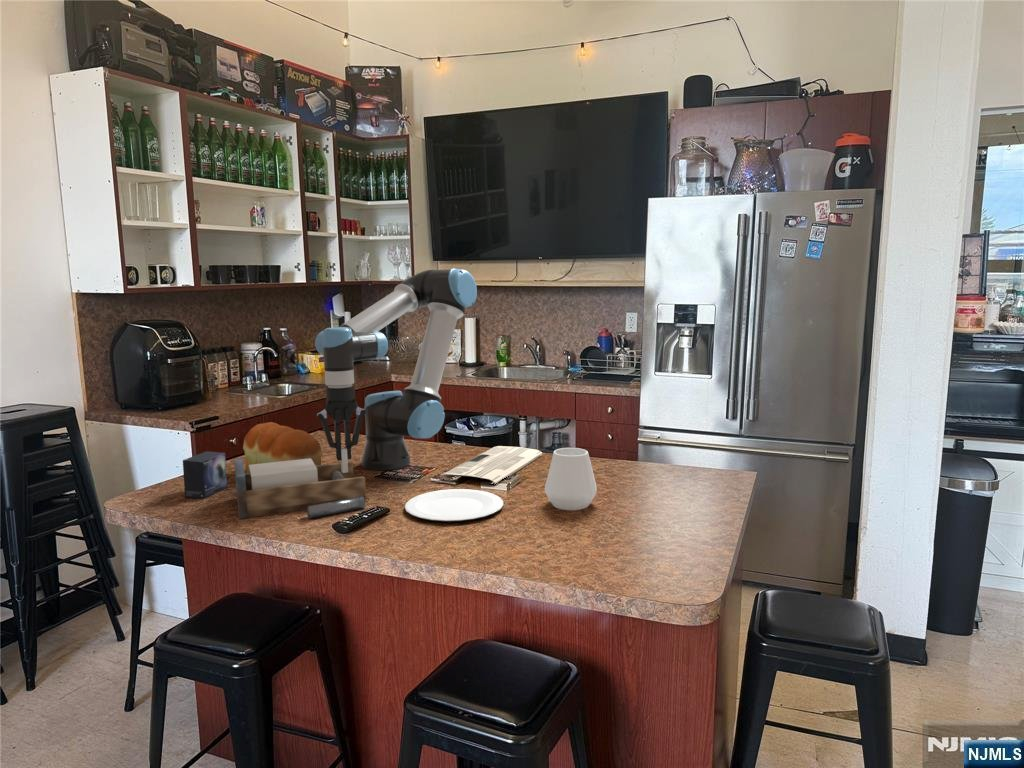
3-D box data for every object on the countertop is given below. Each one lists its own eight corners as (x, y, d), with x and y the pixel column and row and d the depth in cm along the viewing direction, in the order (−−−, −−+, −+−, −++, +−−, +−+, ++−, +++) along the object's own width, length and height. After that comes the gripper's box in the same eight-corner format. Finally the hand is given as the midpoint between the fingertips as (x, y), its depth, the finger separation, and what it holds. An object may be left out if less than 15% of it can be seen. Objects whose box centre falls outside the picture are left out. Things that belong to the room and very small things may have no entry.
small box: (205, 499, 185) (202, 461, 184) (183, 498, 186) (180, 460, 185) (228, 487, 195) (226, 451, 194) (208, 486, 197) (205, 450, 195)
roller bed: (353, 483, 198) (351, 447, 196) (365, 501, 181) (364, 462, 180) (237, 497, 186) (234, 460, 184) (239, 518, 169) (236, 477, 168)
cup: (601, 499, 181) (602, 447, 179) (590, 515, 169) (590, 459, 166) (552, 494, 185) (552, 443, 183) (538, 510, 173) (537, 456, 171)
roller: (361, 506, 178) (360, 494, 177) (365, 509, 175) (364, 497, 175) (306, 516, 170) (306, 504, 170) (310, 520, 167) (309, 508, 167)
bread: (323, 479, 203) (321, 430, 201) (284, 488, 194) (281, 437, 192) (282, 464, 220) (279, 419, 218) (244, 472, 211) (241, 425, 209)
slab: (312, 474, 190) (311, 458, 189) (318, 485, 179) (317, 468, 178) (249, 481, 183) (248, 464, 183) (252, 493, 173) (251, 476, 172)
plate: (386, 520, 168) (385, 513, 168) (432, 490, 191) (432, 484, 191) (480, 531, 159) (480, 524, 159) (517, 499, 183) (517, 493, 182)
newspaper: (493, 452, 234) (493, 444, 234) (547, 457, 226) (547, 449, 226) (440, 481, 201) (439, 472, 200) (500, 488, 193) (500, 479, 193)
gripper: (361, 382, 190) (366, 465, 193) (313, 385, 185) (318, 470, 188) (367, 385, 183) (371, 471, 186) (316, 389, 178) (321, 478, 181)
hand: (344, 471), depth 187 cm, fingers closed
